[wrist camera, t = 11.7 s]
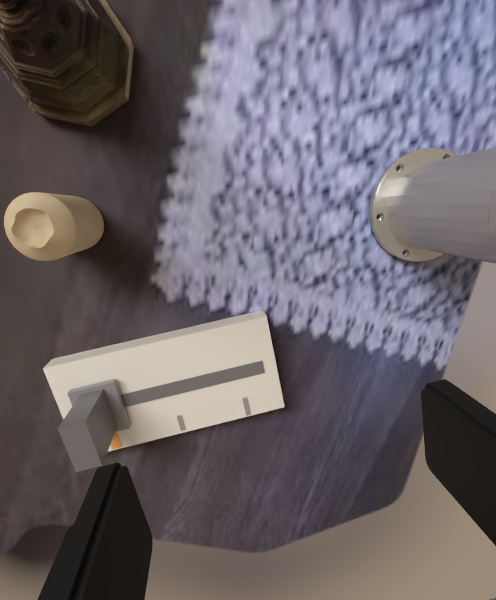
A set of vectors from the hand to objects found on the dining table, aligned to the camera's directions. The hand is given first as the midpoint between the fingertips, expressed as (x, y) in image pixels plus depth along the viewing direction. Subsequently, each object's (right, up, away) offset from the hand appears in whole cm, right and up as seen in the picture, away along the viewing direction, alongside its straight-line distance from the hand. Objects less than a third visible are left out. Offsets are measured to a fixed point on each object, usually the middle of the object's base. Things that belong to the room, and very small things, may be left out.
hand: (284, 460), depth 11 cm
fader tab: (-18, -7, +28) cm, 34 cm away
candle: (-19, +13, +26) cm, 35 cm away
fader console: (-10, -5, +31) cm, 33 cm away
